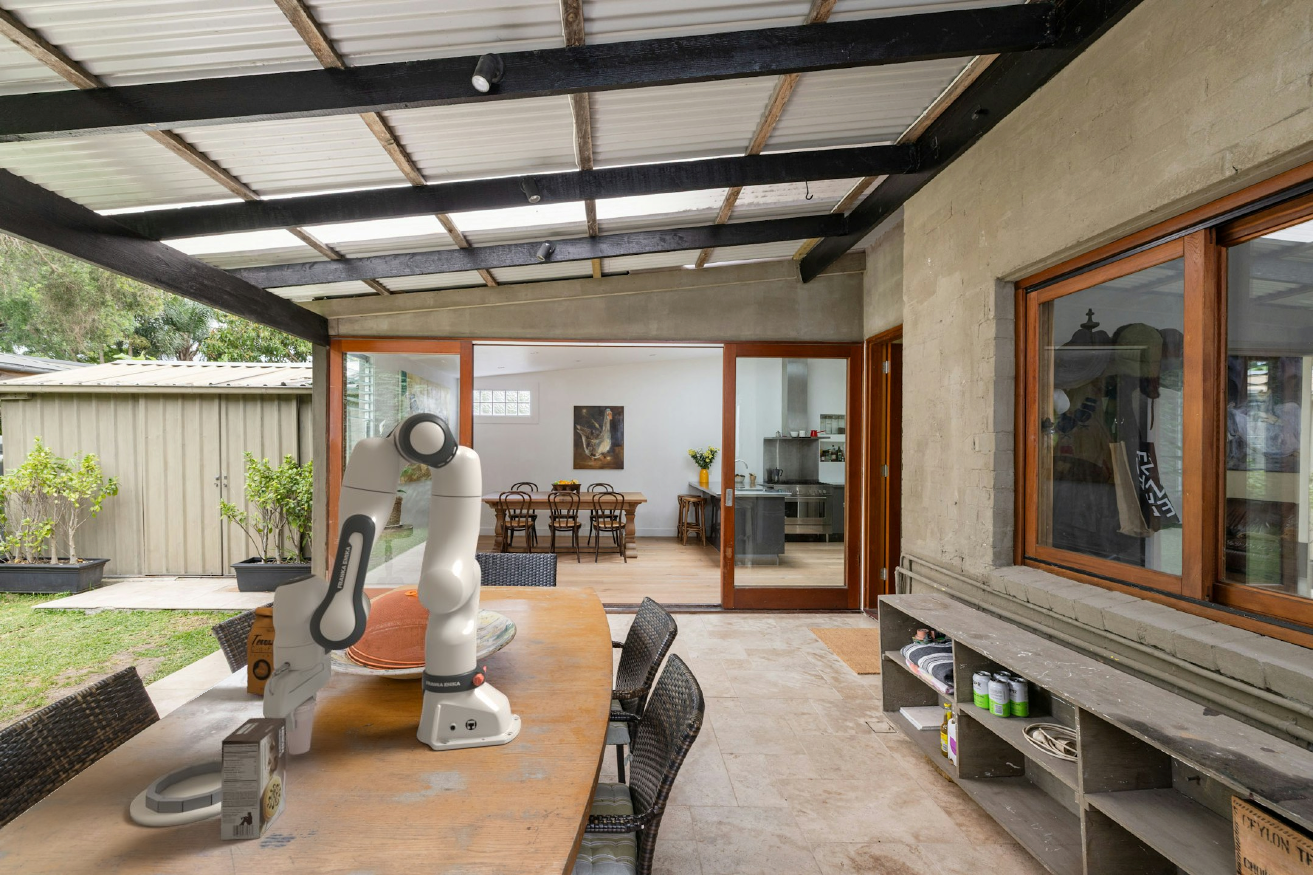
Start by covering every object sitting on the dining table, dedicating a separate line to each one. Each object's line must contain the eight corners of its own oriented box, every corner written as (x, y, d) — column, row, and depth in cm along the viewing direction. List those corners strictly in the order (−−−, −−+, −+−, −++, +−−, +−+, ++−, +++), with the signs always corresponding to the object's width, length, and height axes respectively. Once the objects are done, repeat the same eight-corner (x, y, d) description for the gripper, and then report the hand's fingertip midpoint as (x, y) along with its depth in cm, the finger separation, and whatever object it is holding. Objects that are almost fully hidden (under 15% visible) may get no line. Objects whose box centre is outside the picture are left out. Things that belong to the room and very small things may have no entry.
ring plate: (285, 767, 130) (285, 752, 130) (221, 825, 110) (221, 807, 110) (182, 769, 130) (182, 753, 130) (99, 827, 110) (99, 809, 110)
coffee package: (278, 702, 164) (279, 614, 164) (240, 697, 168) (241, 610, 168) (310, 688, 174) (311, 605, 174) (273, 683, 177) (274, 601, 178)
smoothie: (301, 758, 131) (300, 687, 131) (274, 756, 132) (272, 686, 132) (324, 744, 137) (323, 676, 137) (297, 742, 139) (296, 675, 139)
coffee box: (248, 810, 115) (249, 717, 115) (287, 808, 116) (288, 715, 116) (218, 841, 106) (219, 740, 106) (260, 838, 107) (261, 738, 107)
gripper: (286, 672, 125) (287, 745, 124) (336, 640, 145) (337, 703, 145) (252, 673, 125) (254, 746, 124) (307, 641, 145) (308, 704, 145)
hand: (299, 723), depth 135 cm, fingers closed on smoothie, 5 cm apart
